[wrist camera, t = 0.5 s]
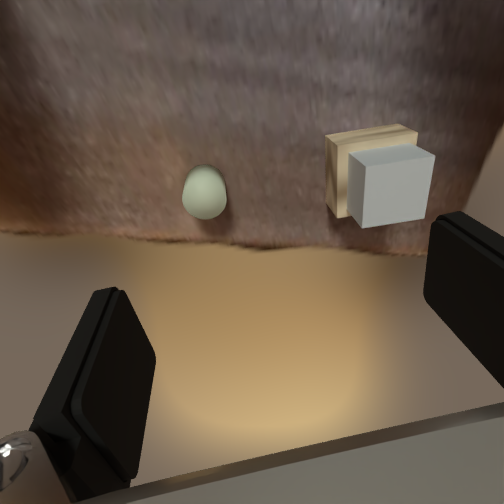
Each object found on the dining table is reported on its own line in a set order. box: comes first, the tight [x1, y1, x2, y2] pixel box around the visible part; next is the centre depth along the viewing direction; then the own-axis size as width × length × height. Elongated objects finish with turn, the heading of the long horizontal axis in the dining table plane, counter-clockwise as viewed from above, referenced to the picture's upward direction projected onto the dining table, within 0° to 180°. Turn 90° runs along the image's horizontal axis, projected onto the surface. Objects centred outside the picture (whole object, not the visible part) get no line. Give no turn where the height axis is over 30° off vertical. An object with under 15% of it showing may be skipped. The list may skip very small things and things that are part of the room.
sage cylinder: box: [182, 165, 227, 219], centre depth 40 cm, size 5×5×5 cm
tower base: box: [325, 124, 418, 218], centre depth 41 cm, size 9×9×5 cm
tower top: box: [347, 143, 435, 228], centre depth 37 cm, size 7×7×5 cm
